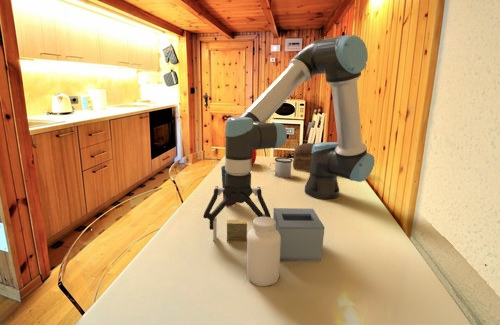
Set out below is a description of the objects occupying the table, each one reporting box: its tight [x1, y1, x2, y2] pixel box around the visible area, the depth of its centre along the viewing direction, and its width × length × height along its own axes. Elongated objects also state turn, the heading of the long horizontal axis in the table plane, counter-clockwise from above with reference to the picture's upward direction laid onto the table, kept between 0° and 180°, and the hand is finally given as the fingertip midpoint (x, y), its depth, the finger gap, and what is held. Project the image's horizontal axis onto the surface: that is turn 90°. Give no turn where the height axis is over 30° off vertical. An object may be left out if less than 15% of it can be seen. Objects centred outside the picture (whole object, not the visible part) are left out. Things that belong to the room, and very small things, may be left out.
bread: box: [292, 142, 316, 172], centre depth 164 cm, size 15×32×16 cm, turn 70°
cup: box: [221, 165, 237, 207], centre depth 112 cm, size 7×7×15 cm
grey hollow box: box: [272, 207, 325, 262], centre depth 82 cm, size 12×12×10 cm
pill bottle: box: [246, 216, 281, 287], centre depth 68 cm, size 8×8×15 cm
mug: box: [269, 156, 293, 179], centre depth 152 cm, size 12×10×9 cm
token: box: [226, 219, 248, 243], centre depth 86 cm, size 6×2×6 cm, turn 92°
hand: (236, 238), depth 87 cm, fingers open, 12 cm apart
